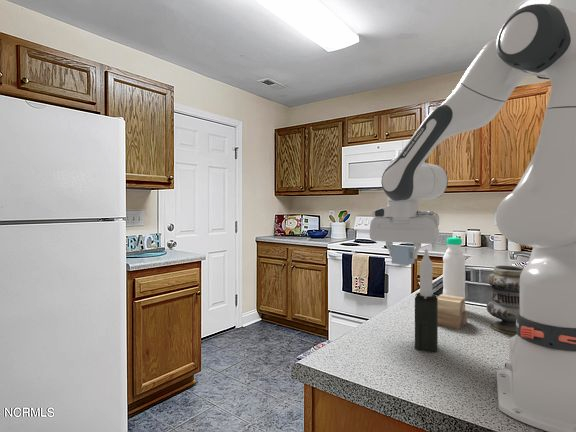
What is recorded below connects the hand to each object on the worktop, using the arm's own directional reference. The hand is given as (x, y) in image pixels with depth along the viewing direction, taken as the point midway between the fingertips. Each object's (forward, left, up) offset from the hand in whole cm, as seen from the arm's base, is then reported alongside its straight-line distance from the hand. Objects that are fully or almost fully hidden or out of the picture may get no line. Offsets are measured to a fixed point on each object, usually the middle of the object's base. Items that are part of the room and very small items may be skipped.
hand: (403, 257), depth 104 cm
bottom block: (+12, -10, -21) cm, 26 cm away
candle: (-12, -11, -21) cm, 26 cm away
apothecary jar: (+17, -25, -21) cm, 37 cm away
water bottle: (+27, -7, -21) cm, 35 cm away
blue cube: (0, 0, -2) cm, 2 cm away
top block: (+12, -10, -17) cm, 23 cm away
